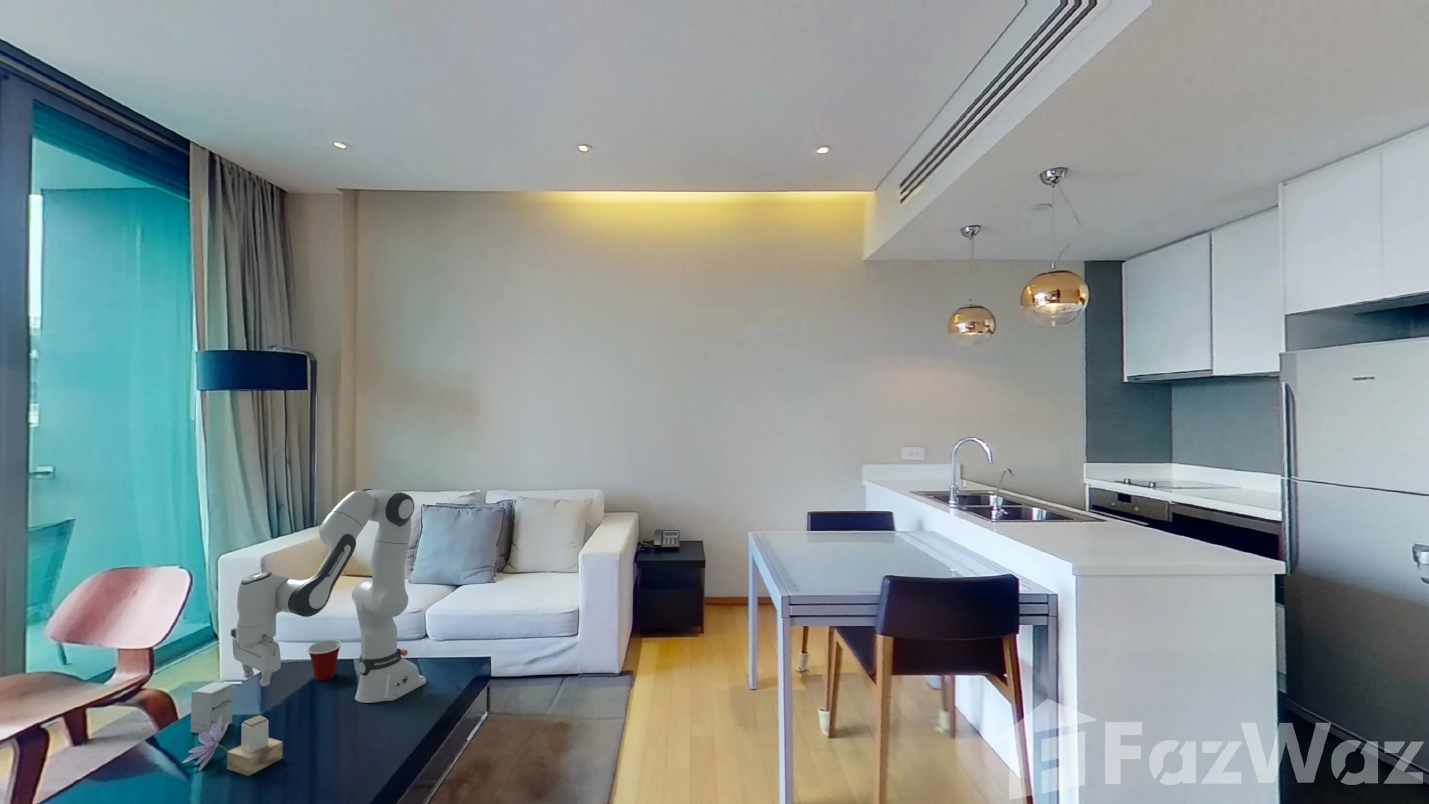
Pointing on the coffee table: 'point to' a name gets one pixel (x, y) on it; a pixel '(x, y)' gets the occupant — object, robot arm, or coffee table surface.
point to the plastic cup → (324, 658)
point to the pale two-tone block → (254, 734)
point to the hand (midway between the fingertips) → (256, 681)
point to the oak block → (254, 758)
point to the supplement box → (211, 706)
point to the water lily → (208, 743)
